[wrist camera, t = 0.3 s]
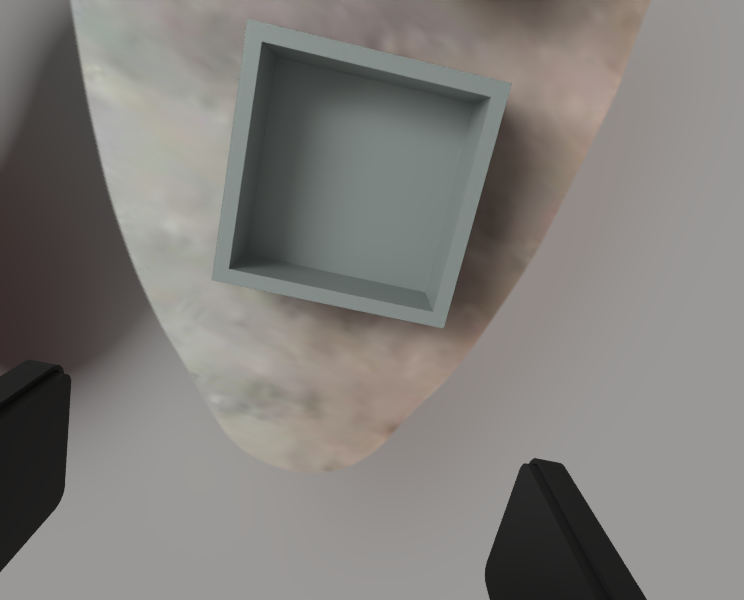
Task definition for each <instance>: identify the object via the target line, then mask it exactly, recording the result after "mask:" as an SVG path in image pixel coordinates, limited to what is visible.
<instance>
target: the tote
mask: <svg viewBox="0 0 744 600" xmlns="http://www.w3.org/2000/svg"><path fill="white" fill-rule="evenodd" d="M511 84H512V83H508V82H504V81H500V80H496V79H492V78H488V77H484V76H479V75H475V74H471V73H467V72H463V71H459V70H455V69H451V68H447V67H443V66H439V65H435V64H430V63H426V62H422V61H418V60H414V59H410V58H406V57H402V56H398V55H394V54H390V53H386V52H381V51H377V50H373V49H369V48H365V47H361V46H357V45H353V44H349V43H345V42H341V41H337V40H332V39H328V38H324V37H320V36H316V35H312V34H308V33H304V32H300V31H296V30H292V29H287V28H283V27H279V26H275V25H271V24H267V23H263V22H259V21H255V20H251V19H247V25H246V33H245V40H244V47H243V55H242V62H241V69H240V77H239V84H238V91H237V99H236V106H235V113H234V121H233V128H232V135H231V143H230V150H229V157H228V165H227V172H226V179H225V187H224V194H223V201H222V209H221V216H220V223H219V231H218V238H217V245H216V253H215V260H214V267H213V275H212V280H213V281H218V282H223V283H228V284H232V285H237V286H242V287H247V288H252V289H256V290H261V291H266V292H271V293H276V294H280V295H285V296H290V297H295V298H300V299H304V300H309V301H314V302H319V303H324V304H328V305H333V306H338V307H343V308H348V309H352V310H357V311H362V312H367V313H372V314H376V315H381V316H386V317H391V318H395V319H400V320H405V321H410V322H415V323H419V324H424V325H429V326H434V327H439V328H443V329H444V326H445V322H446V319H447V315H448V311H449V308H450V304H451V301H452V297H453V293H454V290H455V286H456V283H457V279H458V275H459V272H460V268H461V265H462V261H463V257H464V254H465V250H466V247H467V243H468V239H469V236H470V232H471V229H472V225H473V221H474V218H475V214H476V210H477V207H478V203H479V200H480V196H481V192H482V189H483V185H484V182H485V178H486V174H487V171H488V167H489V164H490V160H491V156H492V153H493V149H494V146H495V142H496V138H497V135H498V131H499V127H500V124H501V120H502V117H503V113H504V109H505V106H506V102H507V99H508V95H509V91H510V88H511Z"/></svg>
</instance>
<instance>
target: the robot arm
mask: <svg viewBox="0 0 744 600" xmlns="http://www.w3.org/2000/svg"><path fill="white" fill-rule="evenodd" d="M70 390H71V378H70V376H69V375H68V374H64V371H63V368H62V367H61V366H60V365H55V364H50V363H45V362H40V361H35V360H27V361H24V362H23V363H21V364H19V365H18V366H16V367H15V368H13V369H12V370H10V371H8V372H7V373H5V374H3V375H2V376H0V572H1V571H2V569H3V568H4V567H5V566H6V565H7V564H8V562H9V561H10V560H11V559H12V558H13V557H14V556H15V554H16V553H17V552H18V551H19V550H20V549H21V548H22V547H23V545H24V544H25V543H26V542H27V541H28V540H29V538H30V537H31V536H32V535H33V534H34V533H35V532H36V530H37V529H38V528H39V527H40V526H41V525H42V523H43V522H44V521H45V520H46V519H47V518H48V517H49V516H50V514H51V513H52V512H53V511H54V510H55V509H56V507H57V506H58V504H59V503H60V501H61V498H62V496H63V493H64V488H65V474H66V457H67V441H68V424H69V408H70V392H71V391H70ZM485 582H486V587H487V590H488V594H489V598H490V600H647V599H646V598H645V596H644V594H643V593H642V591H641V589H640V588H639V586H638V585H637V583H636V581H635V580H634V578H633V577H632V575H631V573H630V572H629V570H628V568H627V567H626V565H625V564H624V562H623V560H622V559H621V557H620V556H619V554H618V552H617V551H616V549H615V547H614V546H613V544H612V543H611V541H610V539H609V538H608V536H607V535H606V533H605V531H604V530H603V528H602V526H601V525H600V524H599V522H598V520H597V518H596V517H595V515H594V514H593V512H592V510H591V509H590V507H589V506H588V504H587V502H586V501H585V499H584V497H583V496H582V494H581V492H580V491H579V489H578V488H577V486H576V484H575V483H574V482H573V480H572V478H571V476H570V475H569V473H568V471H567V470H566V468H565V467H564V466H563V465H562V464H561V463H557V462H552V461H546V460H542V459H537V458H534V459H532V460H531V461H530V463H529V464H523V465H522V466H521V468H520V470H519V473H518V476H517V479H516V481H515V484H514V487H513V490H512V493H511V496H510V499H509V502H508V504H507V507H506V510H505V513H504V515H503V518H502V521H501V524H500V527H499V530H498V532H497V535H496V538H495V541H494V544H493V547H492V549H491V552H490V555H489V558H488V560H487V564H486V568H485Z"/></svg>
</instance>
